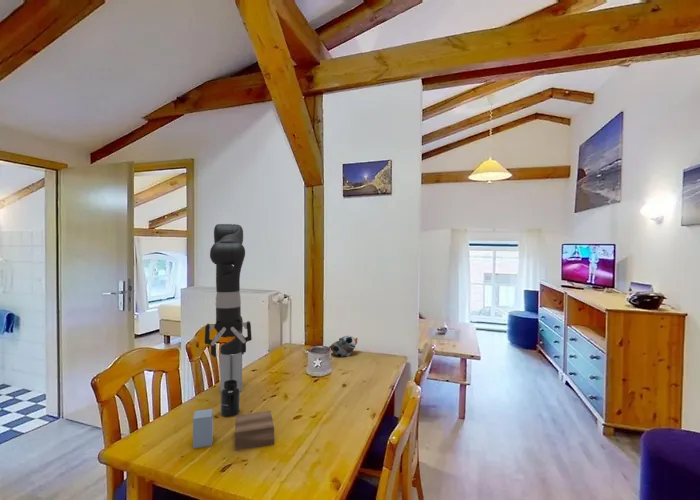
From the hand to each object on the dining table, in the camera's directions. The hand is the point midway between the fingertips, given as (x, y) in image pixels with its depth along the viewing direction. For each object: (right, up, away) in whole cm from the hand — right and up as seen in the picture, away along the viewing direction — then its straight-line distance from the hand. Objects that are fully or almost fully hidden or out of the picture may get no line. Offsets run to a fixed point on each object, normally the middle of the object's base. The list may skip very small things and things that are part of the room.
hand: (228, 355), depth 117 cm
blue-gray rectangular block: (-9, -29, +2) cm, 31 cm away
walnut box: (+7, -30, +5) cm, 31 cm away
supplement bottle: (-7, -29, +23) cm, 37 cm away
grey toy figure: (+35, -28, +96) cm, 106 cm away
